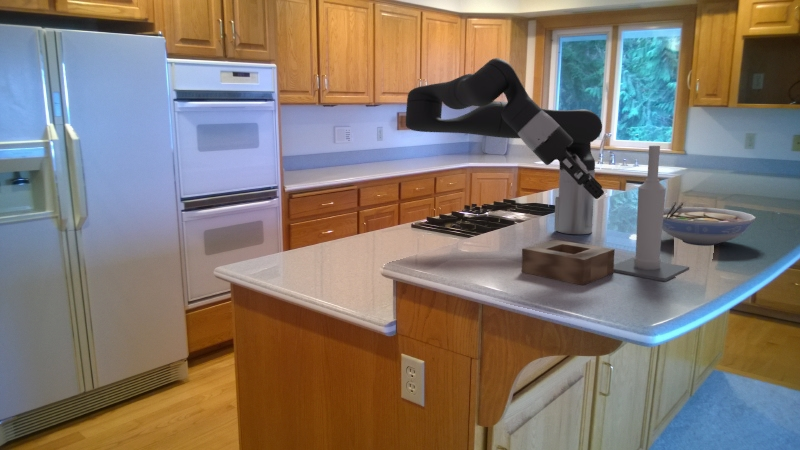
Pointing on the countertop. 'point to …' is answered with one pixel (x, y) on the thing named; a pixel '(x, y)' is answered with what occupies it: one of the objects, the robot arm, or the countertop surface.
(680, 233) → the ramen bowl
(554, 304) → the countertop surface
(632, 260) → the slate mat
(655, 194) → the bottle
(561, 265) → the walnut holder
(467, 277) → the countertop surface
